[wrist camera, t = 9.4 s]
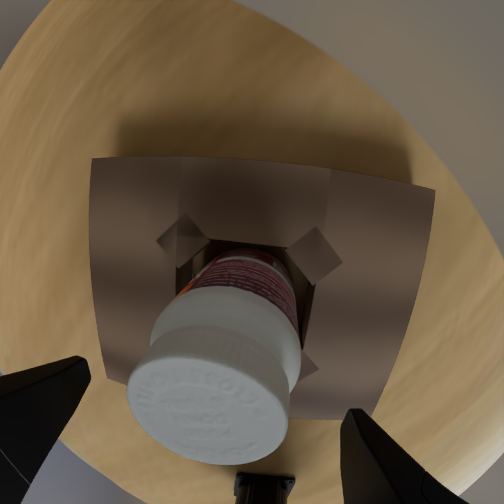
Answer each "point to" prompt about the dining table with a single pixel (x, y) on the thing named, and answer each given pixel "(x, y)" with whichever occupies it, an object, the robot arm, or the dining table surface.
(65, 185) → the dining table surface
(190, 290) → the pill bottle
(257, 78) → the dining table surface
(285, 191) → the socket board
